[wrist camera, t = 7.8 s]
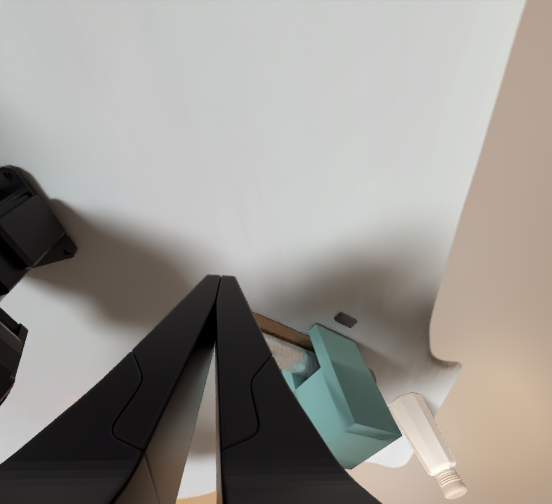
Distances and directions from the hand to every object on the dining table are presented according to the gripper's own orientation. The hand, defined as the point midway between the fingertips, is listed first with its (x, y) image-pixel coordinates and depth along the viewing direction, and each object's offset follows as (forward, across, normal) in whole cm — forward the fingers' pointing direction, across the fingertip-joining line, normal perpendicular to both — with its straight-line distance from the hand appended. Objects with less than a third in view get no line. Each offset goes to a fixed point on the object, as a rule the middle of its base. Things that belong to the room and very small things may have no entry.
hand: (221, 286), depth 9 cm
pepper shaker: (+15, -26, +33) cm, 45 cm away
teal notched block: (+13, -9, +19) cm, 25 cm away
